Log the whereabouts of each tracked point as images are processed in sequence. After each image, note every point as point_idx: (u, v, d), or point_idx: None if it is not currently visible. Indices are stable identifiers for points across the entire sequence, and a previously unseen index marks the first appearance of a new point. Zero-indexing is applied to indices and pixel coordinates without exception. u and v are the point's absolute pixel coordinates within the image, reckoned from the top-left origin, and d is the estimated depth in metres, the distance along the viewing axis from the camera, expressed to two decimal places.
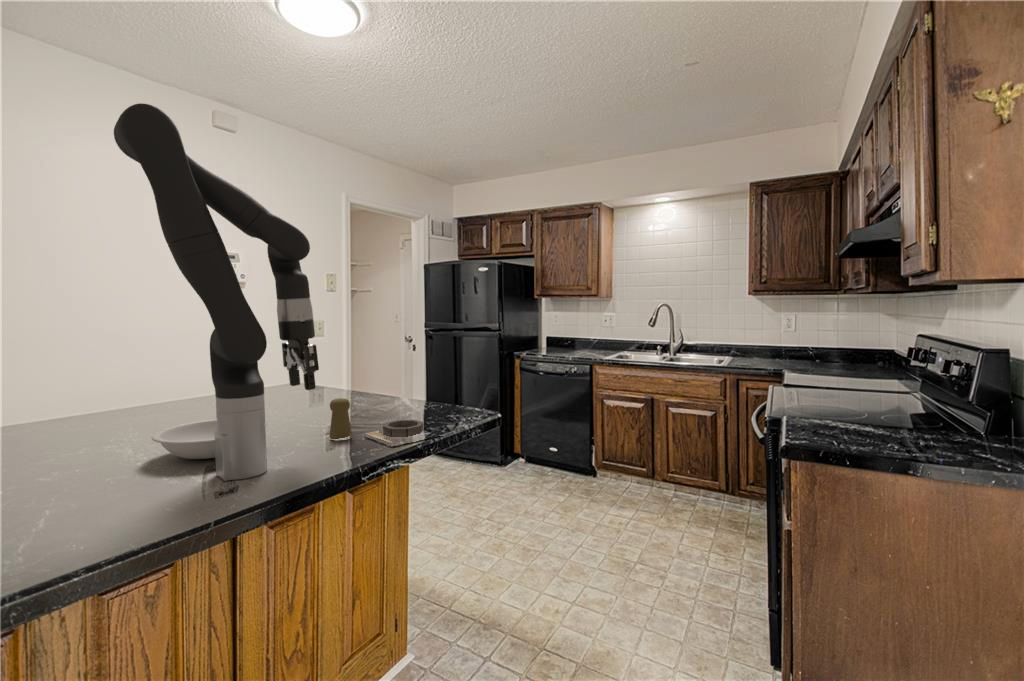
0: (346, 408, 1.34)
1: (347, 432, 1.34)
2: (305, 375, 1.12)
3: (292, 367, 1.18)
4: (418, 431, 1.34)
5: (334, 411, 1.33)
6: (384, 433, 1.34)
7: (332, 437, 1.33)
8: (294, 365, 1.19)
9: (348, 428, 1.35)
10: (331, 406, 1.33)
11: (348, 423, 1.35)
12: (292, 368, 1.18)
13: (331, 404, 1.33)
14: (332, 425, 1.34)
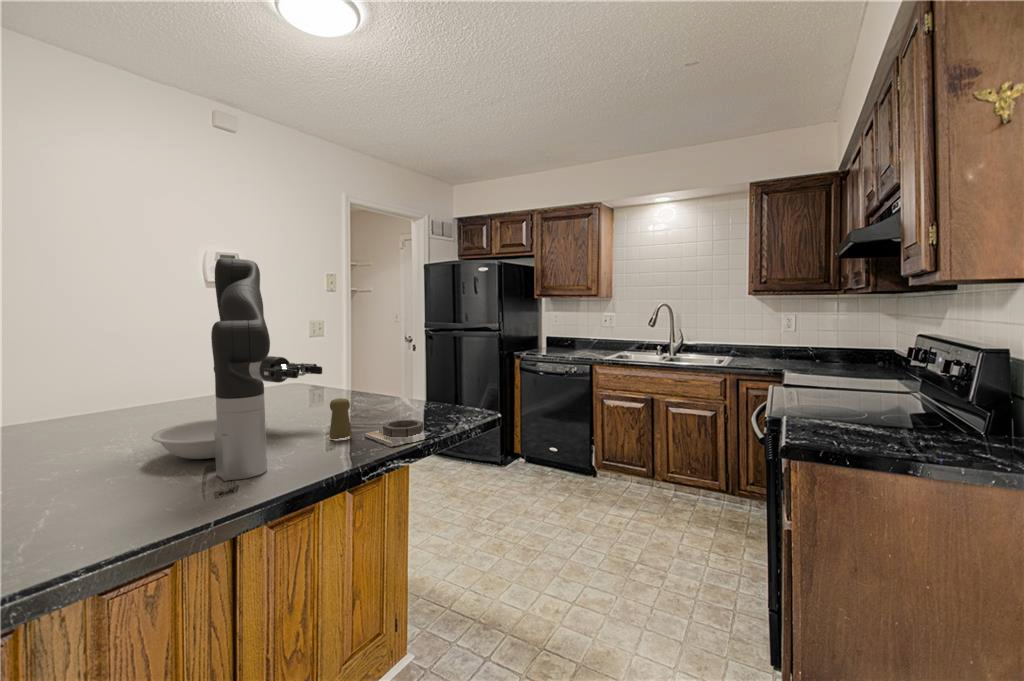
0: (346, 408, 1.34)
1: (347, 432, 1.34)
2: None
3: None
4: (418, 431, 1.34)
5: (334, 411, 1.33)
6: (384, 433, 1.34)
7: (332, 437, 1.33)
8: None
9: (348, 428, 1.35)
10: (331, 406, 1.33)
11: (348, 423, 1.35)
12: None
13: (331, 404, 1.33)
14: (332, 425, 1.34)
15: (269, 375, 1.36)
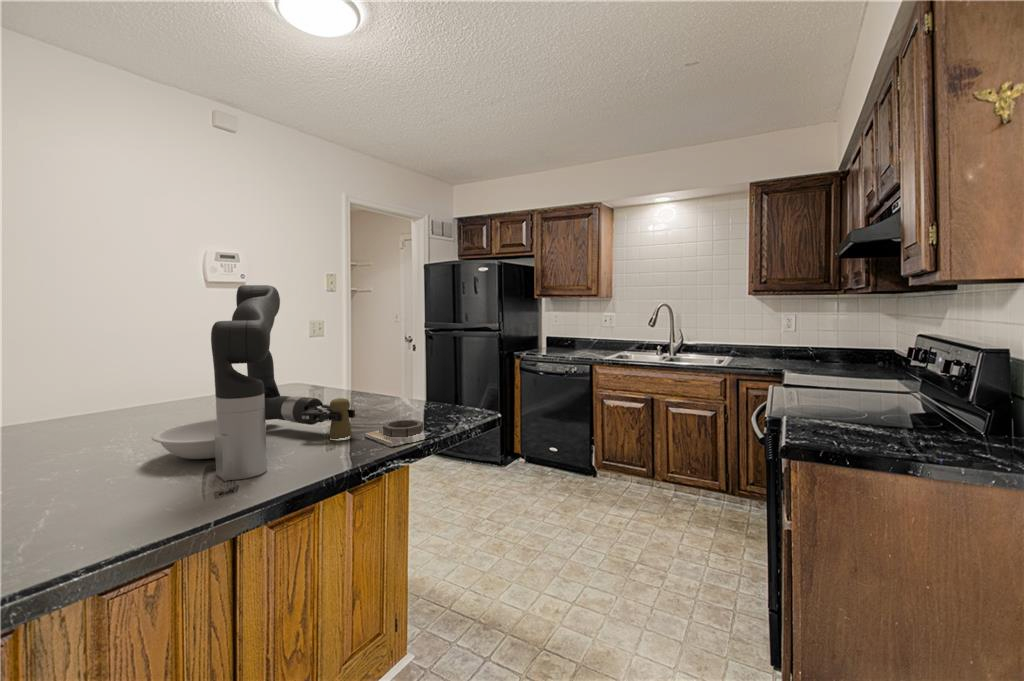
0: (346, 408, 1.34)
1: (347, 432, 1.34)
2: None
3: None
4: (418, 431, 1.34)
5: (334, 411, 1.33)
6: (384, 433, 1.34)
7: (332, 437, 1.33)
8: None
9: (348, 428, 1.35)
10: (331, 406, 1.33)
11: (348, 423, 1.35)
12: None
13: (331, 404, 1.33)
14: (332, 425, 1.34)
15: (311, 419, 1.32)
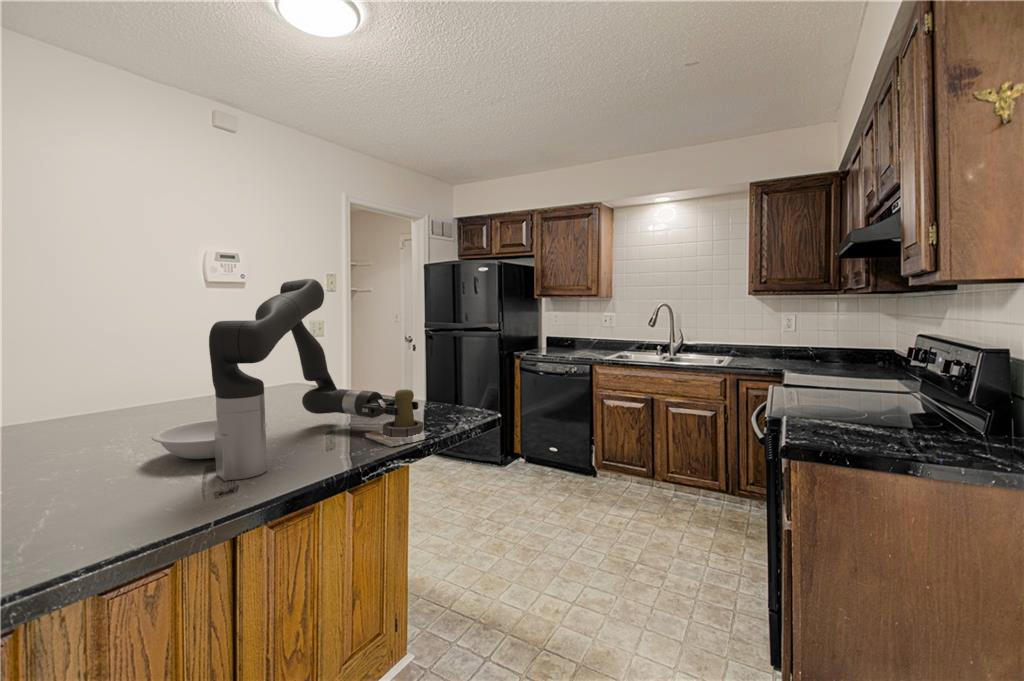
0: (411, 398, 1.38)
1: (411, 421, 1.37)
2: None
3: None
4: (418, 431, 1.34)
5: (399, 400, 1.37)
6: (384, 433, 1.34)
7: (397, 426, 1.35)
8: None
9: (412, 418, 1.37)
10: (396, 396, 1.37)
11: (412, 413, 1.38)
12: None
13: (397, 393, 1.37)
14: None
15: (369, 412, 1.33)
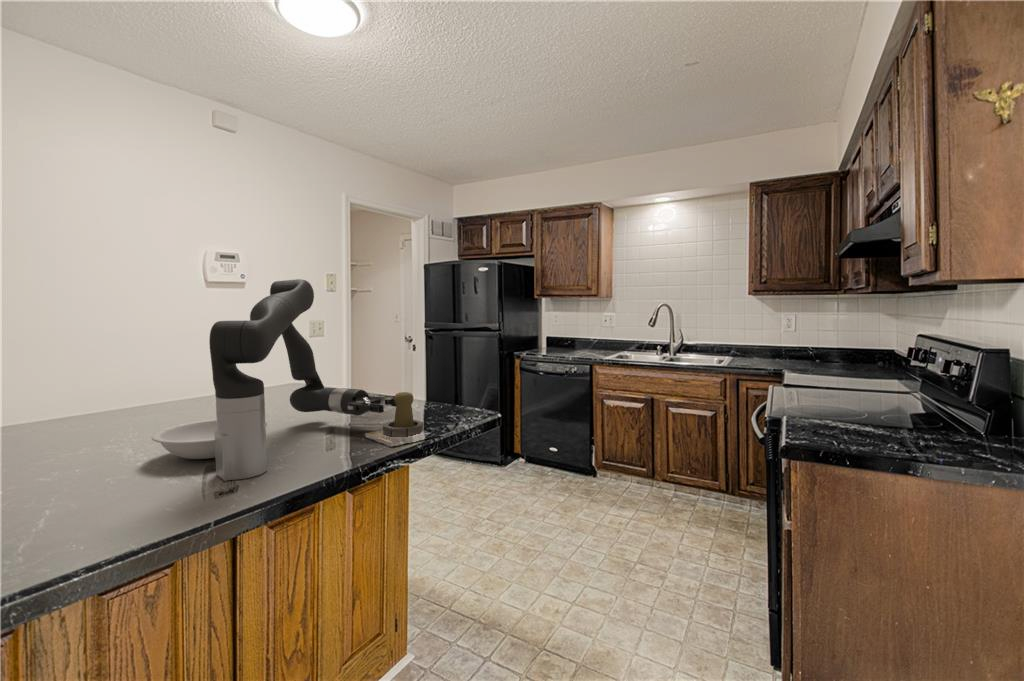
0: (410, 402, 1.36)
1: (410, 426, 1.36)
2: None
3: None
4: (418, 431, 1.34)
5: (398, 404, 1.35)
6: (384, 433, 1.34)
7: None
8: None
9: (411, 422, 1.37)
10: (395, 400, 1.36)
11: (411, 417, 1.37)
12: None
13: (395, 397, 1.36)
14: (396, 418, 1.36)
15: (354, 410, 1.35)
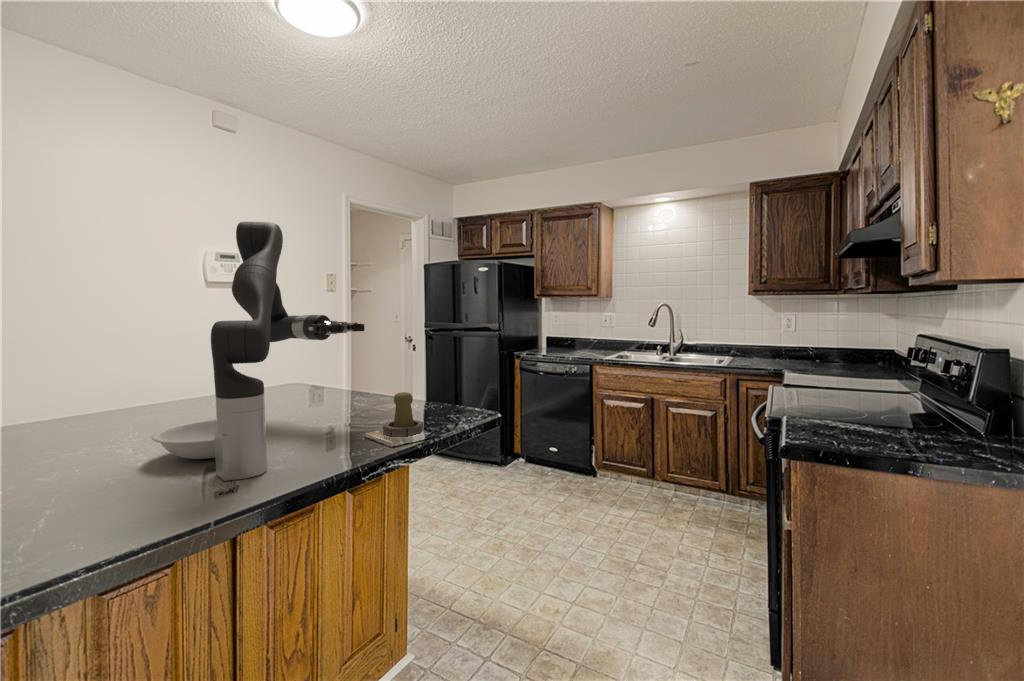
0: (409, 402, 1.36)
1: (410, 426, 1.36)
2: None
3: None
4: (418, 431, 1.34)
5: (397, 405, 1.35)
6: (384, 433, 1.34)
7: None
8: None
9: (411, 422, 1.37)
10: (394, 400, 1.36)
11: (410, 417, 1.37)
12: None
13: (395, 398, 1.36)
14: (395, 418, 1.36)
15: (314, 330, 1.38)
